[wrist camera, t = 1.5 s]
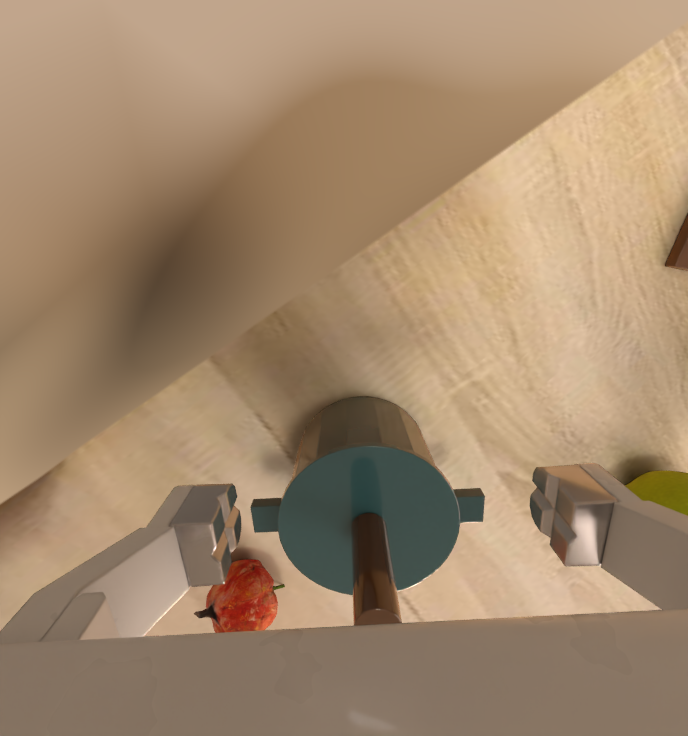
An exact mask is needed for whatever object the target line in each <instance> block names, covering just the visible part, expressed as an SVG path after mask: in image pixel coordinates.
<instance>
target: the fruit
mask: <svg viewBox="0 0 688 736" xmlns="http://www.w3.org/2000/svg"><path fill="white" fill-rule="evenodd" d="M625 487H627V488H628V489H629V490H630V491H631V492H633V493H634V494H635V495H636V496H637V497H639V498H640V499H641V500H642V501H651V502H654V503H656V504H659V505H661V506H664V507H666V508H669V509H671V510H674V511H676V512H679V513H681V514H684V515H687V516H688V473H683V472H677V471H651V472H647V473H644V474H642V475H641V476H639V477H637V478H636V479H635V480H633V481H632V482H631V483H629V484H627V485H625Z"/></svg>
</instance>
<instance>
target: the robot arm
mask: <svg viewBox="0 0 688 736" xmlns="http://www.w3.org/2000/svg"><path fill="white" fill-rule="evenodd" d="M532 481H533V482H534V484H535V485H536V486H537V488H536V489H535V491H534V492H533V493H532V494H531V497H530V509H531V514H532V518H533V520H534V522H535V524H536V526H537V527H538V529H539V530H540V532H542V533H544V534H545V535H547V536H549V537H551V540H550V546H551V547H552V549H553V550H554V551H555V553H556V554H557V556H558V557H559V558H560V560H561V561H562V563H563V564H564V565H565V566H601V568H603V569H604V570H606V571H607V572H609V573H610V574H611V575H613V576H614V577H616V578H617V579H619V580H620V581H622V582H623V583H624V584H626V585H627V586H629V587H630V588H632V589H633V590H635V591H636V592H637V593H639V594H640V595H642V596H643V597H645V598H646V599H647V600H649V601H650V602H652V603H653V604H655V605H656V606H658V607H659V608H660V609H662V610H650V611H633V612H614V613H594V614H574V615H553V616H533V617H513V618H493V619H473V620H454V621H435V622H416V623H397V624H378V625H359V626H340V627H320V628H301V629H282V630H262V631H243V632H224V633H204V634H185V635H165V636H146V637H143V636H144V635H145V634H146V633H147V632H148V631H149V630H150V629H151V628H152V627H153V626H154V625H155V624H156V623H157V622H158V621H159V620H160V619H161V618H162V617H163V616H164V615H165V614H166V613H167V611H168V610H169V609H170V608H171V607H172V606H173V605H174V604H175V603H176V602H177V601H178V600H179V599H180V598H181V597H182V596H183V595H184V594H185V593H186V592H187V591H188V590H189V587H197V586H209V585H221V584H224V583H225V580H226V577H227V574H228V571H229V569H230V566H231V563H232V560H231V554H230V553H231V552H232V551H233V550H235V549H236V548H237V545H238V542H239V539H240V532H241V516H240V511H239V510H238V509H237V508H236V507H235V506H234V503H235V501H236V498H237V494H236V489H235V486H234V485H233V484H205V485H182V486H177V487H174V488H173V490H172V491H171V493H170V494H169V495H168V497H167V498H166V500H165V501H164V503H163V504H162V505H161V507H160V508H159V510H158V511H157V513H156V514H155V515H154V517H153V518H152V520H151V521H150V523H149V524H148V525H147V527H146V528H139V529H138V530H136V531H134V532H133V533H131V534H130V535H128V536H126V537H125V538H123V539H122V540H120V541H118V542H117V543H115V544H113V545H112V546H110V547H109V548H107V549H105V550H104V551H102V552H101V553H99V554H97V555H96V556H94V557H92V558H91V559H89V560H88V561H86V562H84V563H83V564H81V565H79V566H78V567H76V568H75V569H73V570H71V571H70V572H68V573H67V574H65V575H63V576H62V577H60V578H58V579H57V580H55V581H54V582H52V583H50V584H49V585H47V586H46V587H44V588H42V589H41V590H39V591H37V592H36V593H34V594H33V595H32V596H31V597H30V598H29V600H28V601H27V602H26V603H25V604H24V605H23V606H22V607H21V609H20V610H19V611H18V612H17V613H16V614H15V615H14V616H13V618H12V619H11V620H10V621H9V622H8V623H7V624H6V625H5V627H4V628H3V629H2V630H1V631H0V736H688V516H687V515H684V514H681V513H679V512H676V511H674V510H671V509H669V508H666V507H664V506H661V505H659V504H656V503H654V502H651V501H642V500H641V499H640V498H639V497H637V496H636V495H635V494H634V493H633V492H631V491H630V490H629V489H628V488H627V487H625V486H624V485H623V484H622V483H621V482H619V481H618V480H617V479H616V478H615V477H613V476H612V475H611V474H610V473H609V472H607V471H606V470H605V469H604V468H603V467H601V466H600V465H598V464H595V463H584V464H574V465H564V466H550V467H536V469H535V471H534V473H533V480H532Z"/></svg>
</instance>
